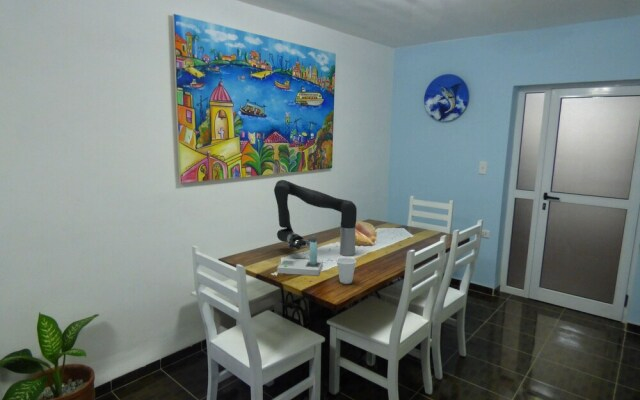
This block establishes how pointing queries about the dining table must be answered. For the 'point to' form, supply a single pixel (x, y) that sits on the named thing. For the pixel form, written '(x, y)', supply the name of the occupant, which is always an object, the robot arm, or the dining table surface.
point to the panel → (299, 267)
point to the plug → (313, 251)
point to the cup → (346, 269)
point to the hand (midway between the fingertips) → (306, 247)
